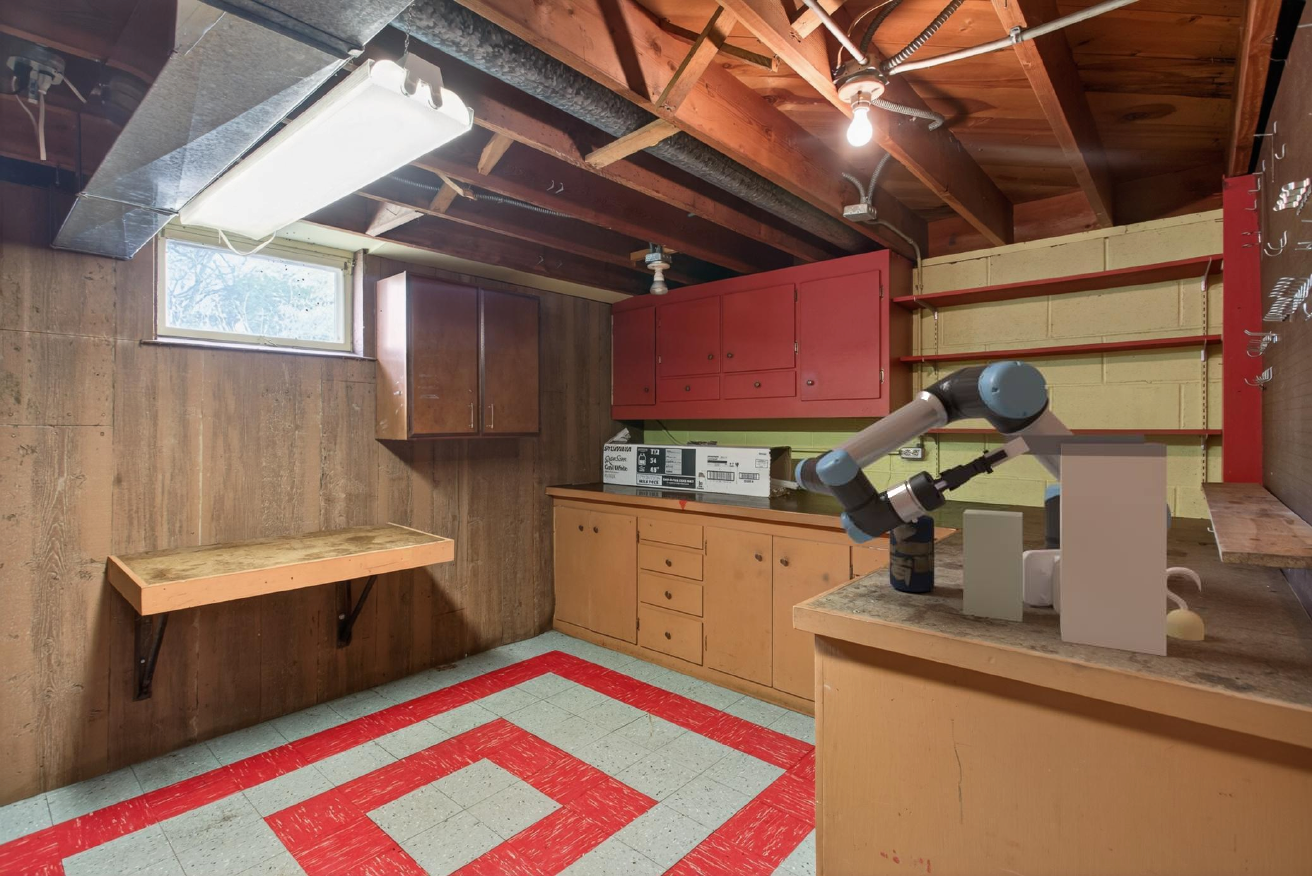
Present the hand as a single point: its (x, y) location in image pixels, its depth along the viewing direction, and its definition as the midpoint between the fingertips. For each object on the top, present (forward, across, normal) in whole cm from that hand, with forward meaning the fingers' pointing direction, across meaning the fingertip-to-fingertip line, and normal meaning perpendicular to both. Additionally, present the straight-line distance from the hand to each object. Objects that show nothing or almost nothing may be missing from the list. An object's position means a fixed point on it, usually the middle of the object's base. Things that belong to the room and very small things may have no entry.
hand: (1026, 441), depth 111 cm
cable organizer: (-11, -18, -34) cm, 40 cm away
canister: (-37, -20, -18) cm, 46 cm away
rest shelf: (-22, -8, -27) cm, 36 cm away
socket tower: (-7, 0, -36) cm, 36 cm away
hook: (+3, -10, -42) cm, 43 cm away
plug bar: (+5, 0, -5) cm, 7 cm away
